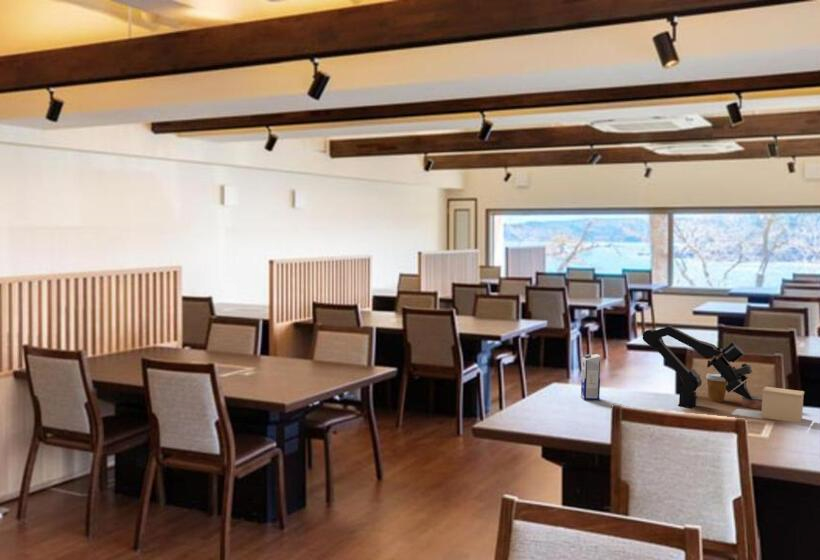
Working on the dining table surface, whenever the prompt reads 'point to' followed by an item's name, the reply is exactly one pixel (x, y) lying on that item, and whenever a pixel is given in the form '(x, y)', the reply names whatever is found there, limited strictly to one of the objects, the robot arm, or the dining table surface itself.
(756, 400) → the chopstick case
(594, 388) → the milk carton
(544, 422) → the dining table surface
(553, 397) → the dining table surface
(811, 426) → the dining table surface
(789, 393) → the kraft carton
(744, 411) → the board
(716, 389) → the disposable coffee cup
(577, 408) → the dining table surface
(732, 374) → the robot arm
